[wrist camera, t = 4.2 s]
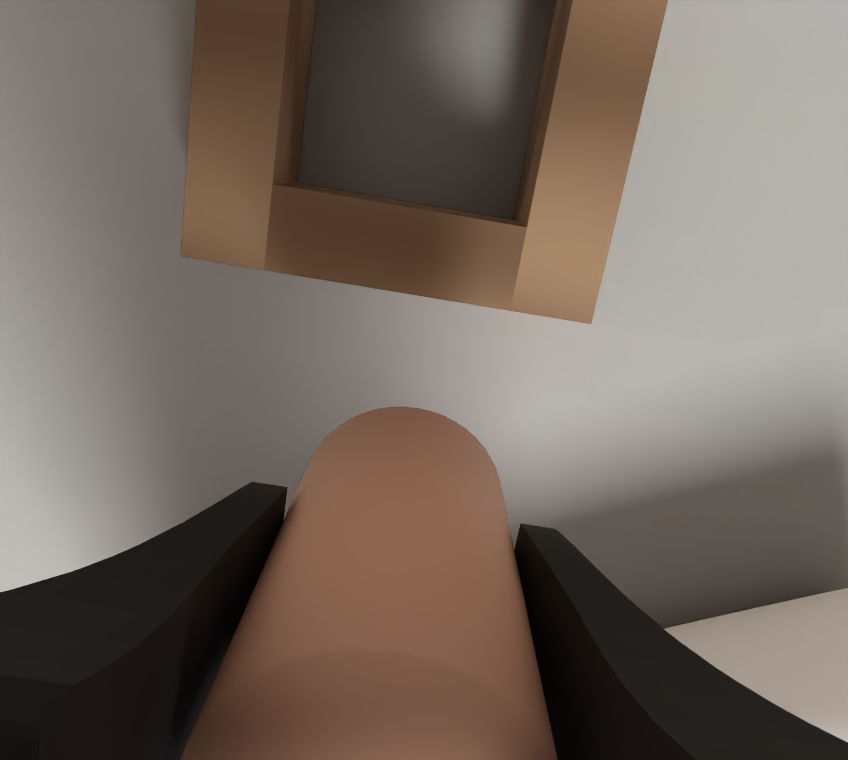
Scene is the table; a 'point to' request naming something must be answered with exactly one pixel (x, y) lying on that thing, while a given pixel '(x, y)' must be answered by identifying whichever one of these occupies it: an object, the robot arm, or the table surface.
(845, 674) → the can
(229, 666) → the pin
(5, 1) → the table surface
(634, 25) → the socket block
